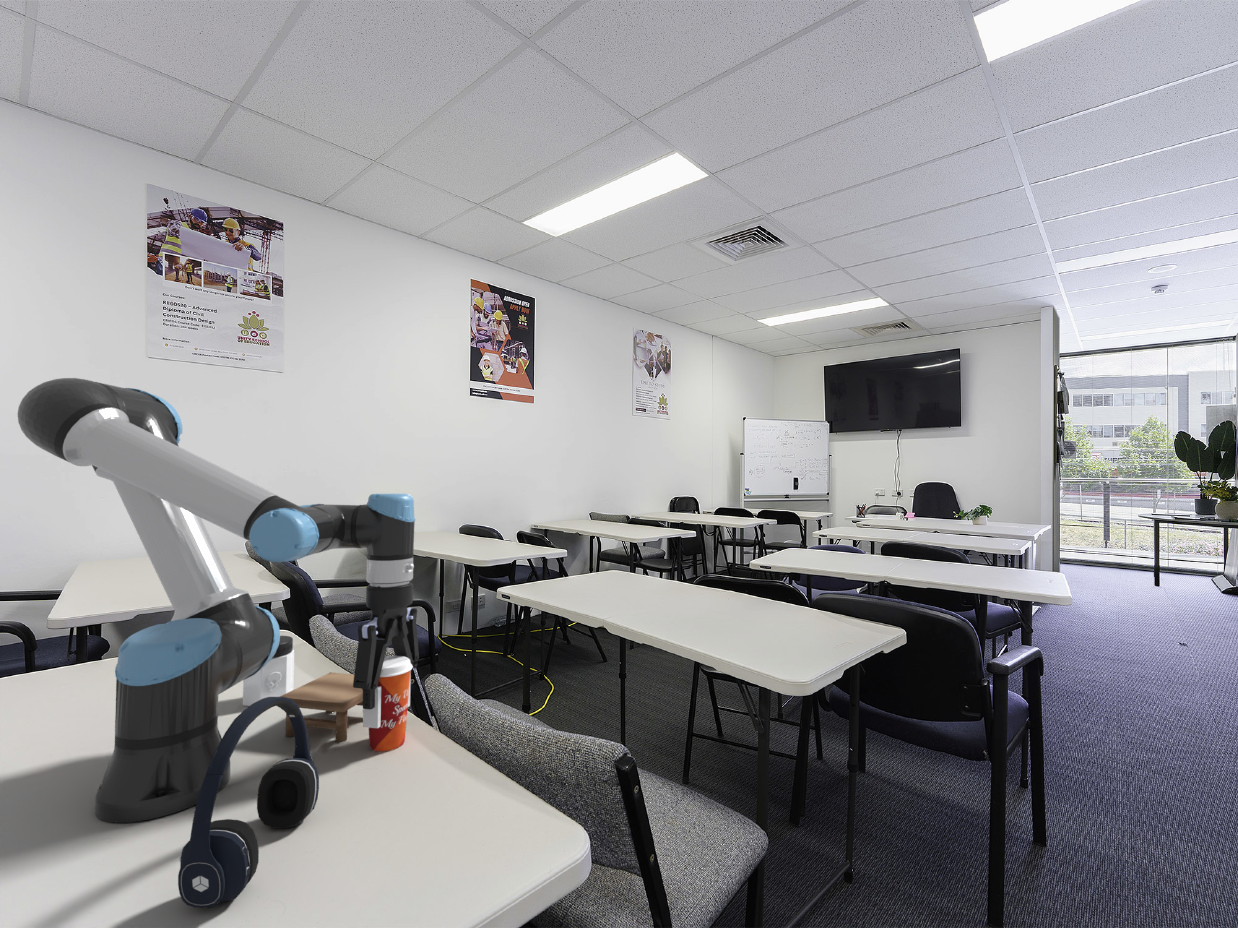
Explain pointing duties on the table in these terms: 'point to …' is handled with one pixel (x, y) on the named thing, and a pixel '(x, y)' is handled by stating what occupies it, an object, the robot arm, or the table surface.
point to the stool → (327, 702)
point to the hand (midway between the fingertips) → (387, 715)
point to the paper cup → (392, 704)
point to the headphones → (230, 847)
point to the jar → (272, 675)
